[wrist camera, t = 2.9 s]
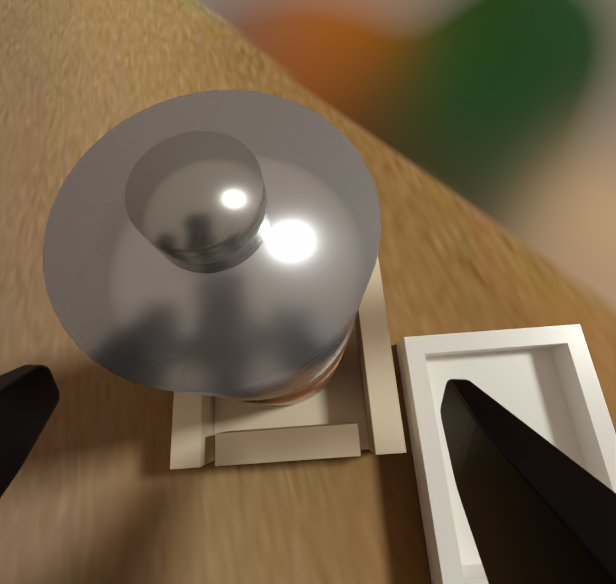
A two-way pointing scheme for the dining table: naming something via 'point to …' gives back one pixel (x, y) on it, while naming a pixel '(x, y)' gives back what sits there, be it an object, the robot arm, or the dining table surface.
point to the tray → (515, 398)
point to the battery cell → (216, 247)
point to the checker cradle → (304, 409)
